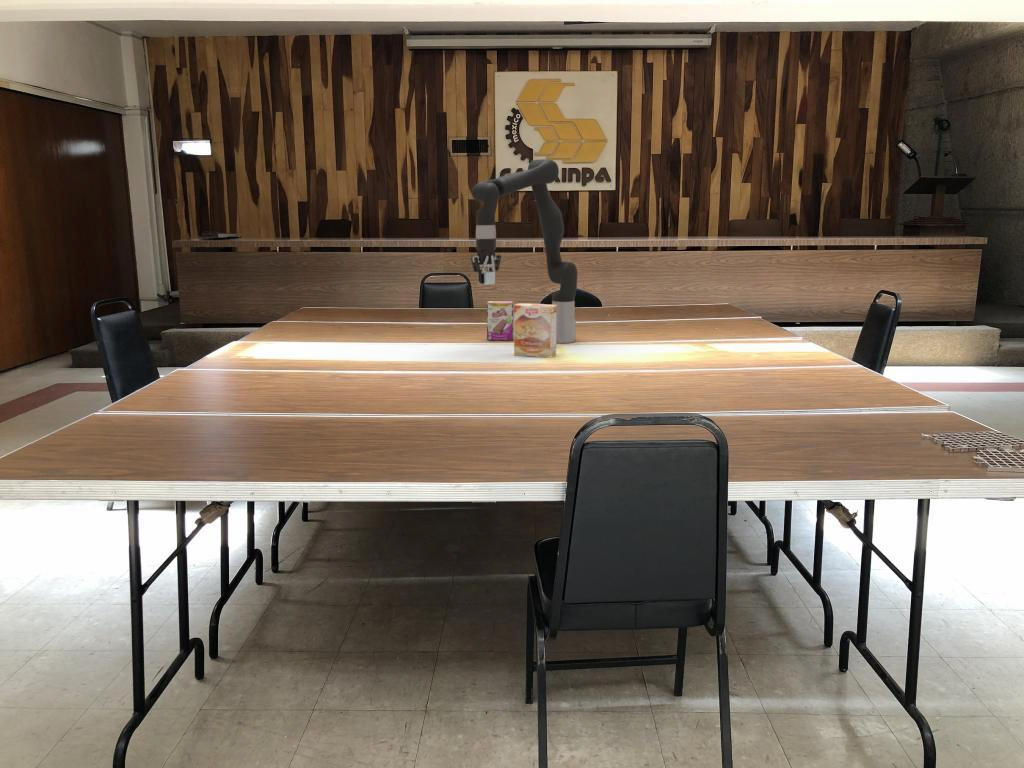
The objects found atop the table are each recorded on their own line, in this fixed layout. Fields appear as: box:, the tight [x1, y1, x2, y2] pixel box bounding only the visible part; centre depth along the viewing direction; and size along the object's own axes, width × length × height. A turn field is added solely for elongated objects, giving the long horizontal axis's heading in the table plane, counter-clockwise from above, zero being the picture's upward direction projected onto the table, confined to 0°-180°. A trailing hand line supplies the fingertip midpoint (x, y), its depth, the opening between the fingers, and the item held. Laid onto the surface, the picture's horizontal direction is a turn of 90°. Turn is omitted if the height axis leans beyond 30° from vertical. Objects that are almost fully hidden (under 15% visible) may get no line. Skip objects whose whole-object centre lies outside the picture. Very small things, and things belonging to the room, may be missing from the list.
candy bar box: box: [486, 300, 515, 341], centre depth 359 cm, size 11×5×16 cm, turn 84°
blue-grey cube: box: [477, 270, 496, 286], centre depth 322 cm, size 4×4×4 cm
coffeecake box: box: [513, 302, 557, 358], centre depth 325 cm, size 15×7×20 cm, turn 67°
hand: (486, 282), depth 322 cm, fingers closed on blue-grey cube, 4 cm apart
